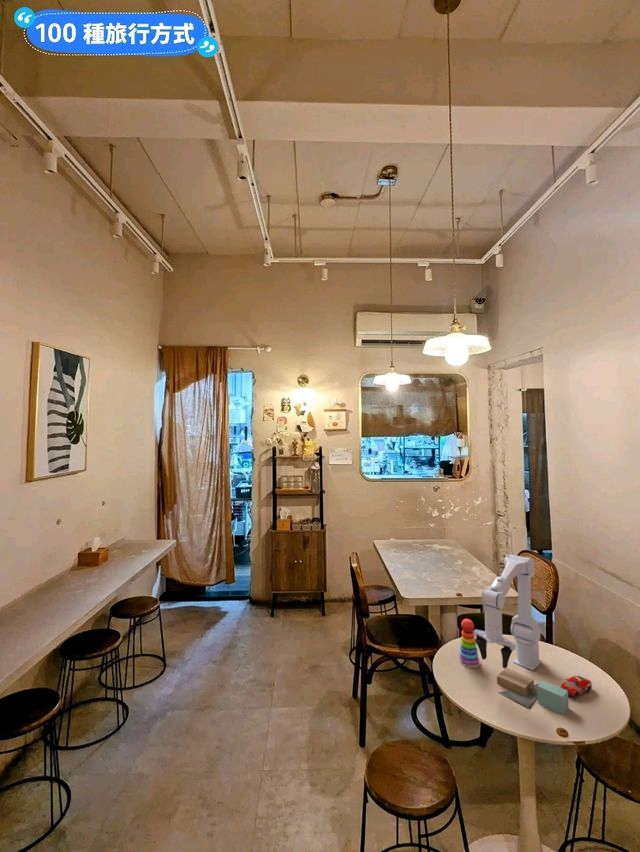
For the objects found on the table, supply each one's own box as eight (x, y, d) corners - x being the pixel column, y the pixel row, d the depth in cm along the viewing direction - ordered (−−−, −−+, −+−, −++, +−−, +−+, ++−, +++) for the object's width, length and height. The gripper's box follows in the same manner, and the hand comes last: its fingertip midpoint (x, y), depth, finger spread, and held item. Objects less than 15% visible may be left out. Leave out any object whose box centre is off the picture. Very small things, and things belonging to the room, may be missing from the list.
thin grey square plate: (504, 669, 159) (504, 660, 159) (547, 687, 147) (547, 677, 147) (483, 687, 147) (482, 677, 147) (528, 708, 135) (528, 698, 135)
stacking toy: (462, 658, 167) (461, 613, 168) (482, 664, 162) (480, 618, 163) (456, 667, 160) (455, 620, 161) (477, 673, 156) (475, 625, 157)
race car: (572, 699, 139) (572, 687, 139) (557, 690, 144) (557, 679, 144) (595, 690, 145) (595, 679, 145) (579, 682, 149) (579, 671, 150)
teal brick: (543, 697, 141) (542, 680, 141) (568, 708, 135) (567, 690, 135) (537, 703, 138) (537, 686, 138) (563, 715, 132) (562, 696, 132)
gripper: (469, 621, 147) (470, 658, 146) (508, 635, 136) (510, 675, 135) (478, 615, 151) (479, 652, 151) (517, 628, 140) (518, 668, 140)
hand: (494, 662), depth 143 cm, fingers open, 7 cm apart
